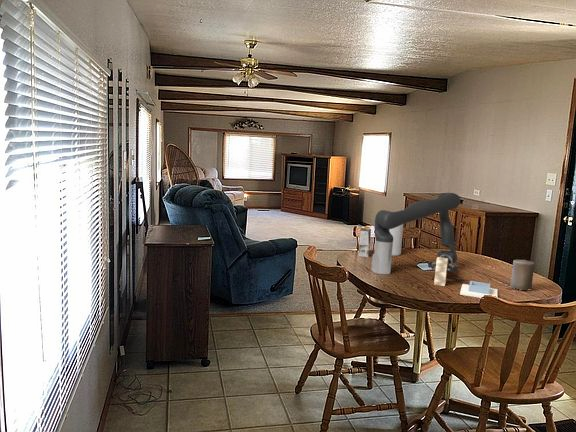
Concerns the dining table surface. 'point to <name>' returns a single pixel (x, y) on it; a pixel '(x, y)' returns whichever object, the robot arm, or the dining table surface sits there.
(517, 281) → the pillar candle
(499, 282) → the dining table surface
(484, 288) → the sleeve holder
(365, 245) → the coffee box
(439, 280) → the birch post
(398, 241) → the cylinder vase
